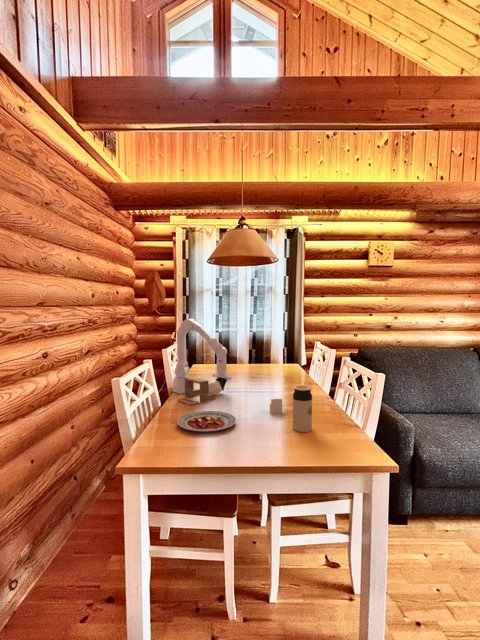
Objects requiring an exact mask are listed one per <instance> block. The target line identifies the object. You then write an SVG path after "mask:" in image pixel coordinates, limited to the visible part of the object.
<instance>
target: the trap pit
mask: <svg viewBox="0 0 480 640" xmlns="http://www.w3.org/2000/svg"><path fill="white" fill-rule="evenodd" d="M177 401H178V402H179V403H182V404H184V405H185V404H186V405H188V406H191V407H192V406H195V405H199V404H200V400H199V401H198V400H196V399H192V398H190V397H188V398H186V397H185V396H184V397H181V398H177Z"/></svg>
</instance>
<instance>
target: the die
mask: <svg viewBox="0 0 480 640" xmlns="http://www.w3.org/2000/svg"><path fill="white" fill-rule="evenodd" d="M221 392H222V388H221V385H220V383H219V382H217V381H216V380H211V381H210V382H209V394H215V397H217V396H218V395H219V394H220V393H221Z"/></svg>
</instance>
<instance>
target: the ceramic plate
mask: <svg viewBox="0 0 480 640" xmlns="http://www.w3.org/2000/svg"><path fill="white" fill-rule="evenodd" d="M236 422H237V418H236V416H234V415H233V414H231V413H228V412H224V411H217V410H202V411H201V410H200V411H194V412H189V413H186V414H184V415H181V416H180V417H179V418H178V419H177V424H178V426H179V427H181V428H182V429H185V430H189V431H191V432H192V431H195V432H216V431H220V430H225V429H228V428H231V427H232V426H233V425H235V424H236Z"/></svg>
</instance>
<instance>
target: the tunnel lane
mask: <svg viewBox="0 0 480 640" xmlns="http://www.w3.org/2000/svg"><path fill="white" fill-rule="evenodd" d="M209 383H210V382H209V380H207V379H204V378H198V377H195V376H188V377H186V378H185V393H184V397H186V398H191V397H197V396H199V404H203V403H207V402H210V401H214V400H216V396H215V394H209ZM194 384H199V389H194V388H195V387H194V386H195V385H194Z"/></svg>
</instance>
